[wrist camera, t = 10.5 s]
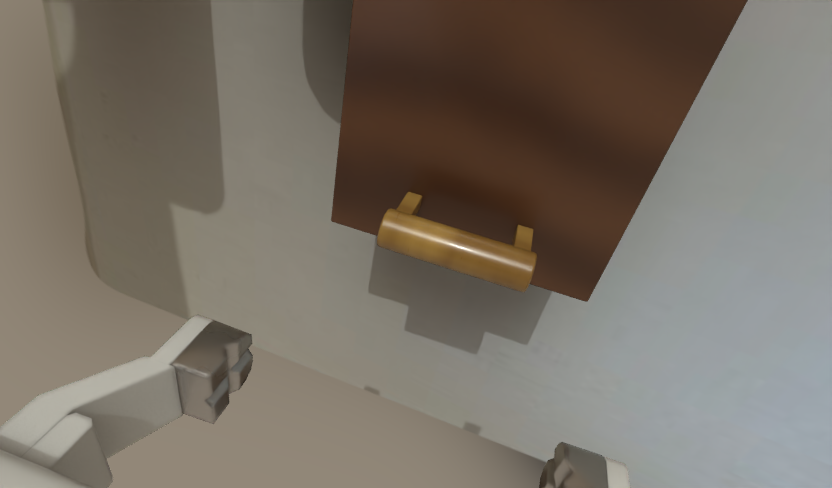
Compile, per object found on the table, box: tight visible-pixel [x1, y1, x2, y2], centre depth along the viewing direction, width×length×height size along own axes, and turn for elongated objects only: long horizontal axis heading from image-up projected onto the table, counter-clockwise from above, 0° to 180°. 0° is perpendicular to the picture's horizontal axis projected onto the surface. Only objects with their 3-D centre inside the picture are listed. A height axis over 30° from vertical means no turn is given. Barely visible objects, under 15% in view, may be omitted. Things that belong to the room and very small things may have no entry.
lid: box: [331, 0, 748, 302], centre depth 17 cm, size 14×13×4 cm
